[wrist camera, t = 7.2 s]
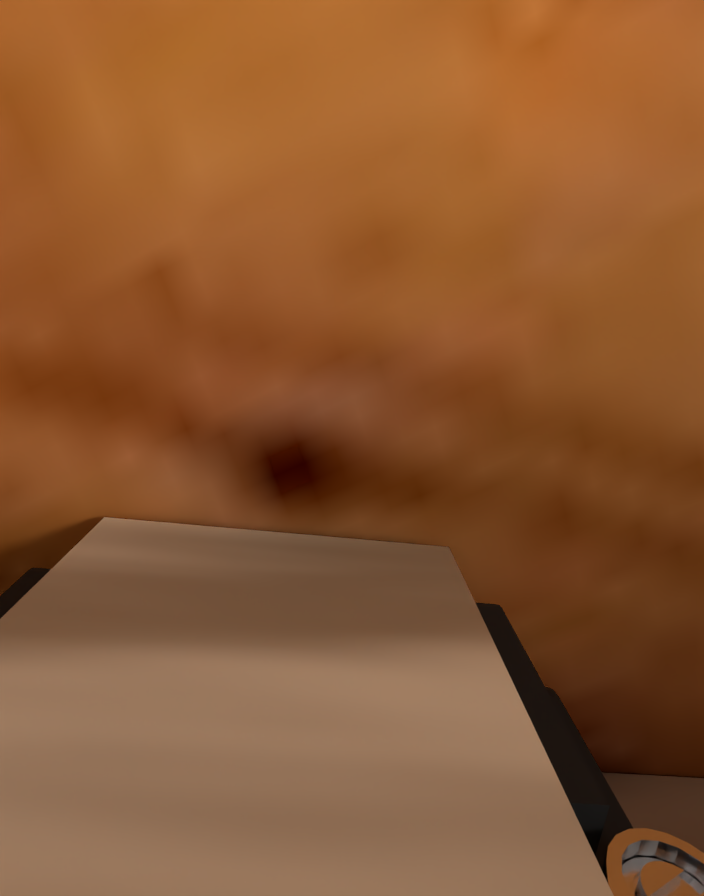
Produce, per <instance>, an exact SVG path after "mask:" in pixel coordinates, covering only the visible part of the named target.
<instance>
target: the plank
mask: <svg viewBox="0 0 704 896" xmlns="http://www.w3.org/2000/svg"><path fill="white" fill-rule="evenodd" d="M602 774H603V776H604V777H605V779H606V781H607V783H608V784H609V786H610V788H611V790H612V791H613V793H614V795H615V797H616V798H617V800H618V802H619V804H620V805H621V807H622V809H623V811H624V812H625V814H626V816H627V818H628V819H629V821H630V823H631V825H632V827H633V828H634V829H635V828H648V829H652V830H657V831H661V832H665V833H668V834H670V835H672V836H674V837H677V838H679V839H681V840H683V841H685V842H688V843H689V844H691V845H692V846H694V847H695V848H697V849H698V850H700V851H701V852H703V853H704V778H692V777H674V776H656V775H638V774H619V773H602Z"/></svg>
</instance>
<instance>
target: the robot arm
mask: <svg viewBox="0 0 704 896" xmlns="http://www.w3.org/2000/svg"><path fill="white" fill-rule="evenodd" d="M50 570H51V569H45V568H32V569H30V570H28V571H27V572H26V573H25V574H24V575H23V576H22V577H21V578H20V579H18V580H17V581H16V582H15V583H14V584H13V585H12V586H11V587H10V588H9V589H8V590H6V591H5V592H4V593H3V594H2V595H1V596H0V619H1V618H2V617H3V616H4V615H5V614H6V613H7V612H8V611H9V610H10V609H11V608H12V607H13V606H14V605H15V604H16V603H17V602H18V601H19V600H20V599H21V598H22V597H23V596H24V595H25V594H26V593H27V592H28V591H29V590H30V589H31V588H32V587H33V586H34V585H36V584H37V583H38V582H39V581H40V580H41V579H42V578H43V577H44V576H45V575H46V574H47V573H48V572H49V571H50ZM476 605H477V607H478V610H479V612H480V614H481V616H482V618H483V620H484V622H485V624H486V626H487V629H488V631H489V633H490V635H491V637H492V639H493V641H494V643H495V646H496V648H497V650H498V652H499V654H500V656H501V658H502V660H503V662H504V665H505V667H506V669H507V671H508V673H509V675H510V677H511V679H512V681H513V684H514V686H515V688H516V690H517V692H518V694H519V696H520V698H521V701H522V703H523V705H524V707H525V709H526V711H527V713H528V715H529V717H530V720H531V722H532V724H533V726H534V728H535V730H536V732H537V734H538V737H539V739H540V741H541V743H542V745H543V747H544V749H545V751H546V753H547V756H548V758H549V760H550V762H551V764H552V766H553V768H554V770H555V772H556V775H557V777H558V779H559V781H560V783H561V785H562V787H563V789H564V792H565V794H566V796H567V798H568V800H569V802H570V804H571V806H572V808H573V811H574V813H575V815H576V817H577V819H578V821H579V823H580V825H581V827H582V830H583V832H584V834H585V836H586V838H587V840H588V842H589V844H590V847H591V849H592V851H593V853H594V855H595V857H596V859H597V861H598V863H599V866H600V868H601V870H602V872H603V874H604V876H605V878H606V880H607V882H608V885H609V887H610V889H611V891H612V893H613V895H614V896H704V853H703V852H701V851H700V850H698V849H697V848H695V847H694V846H692V845H691V844H689V843H688V842H685V841H683V840H681V839H679V838H677V837H674V836H672V835H670V834H668V833H665V832H661V831H657V830H652V829H648V828H635V829H634V828H633V827H632V825H631V823H630V821H629V819H628V818H627V816H626V814H625V812H624V811H623V809H622V807H621V805H620V804H619V802H618V800H617V798H616V797H615V795H614V793H613V791H612V790H611V788H610V786H609V784H608V783H607V781H606V779H605V777H604V776H603V774H602V772H601V770H600V768H599V767H598V765H597V763H596V761H595V760H594V758H593V756H592V754H591V753H590V751H589V749H588V747H587V746H586V744H585V742H584V740H583V739H582V737H581V735H580V733H579V732H578V730H577V728H576V726H575V725H574V723H573V721H572V719H571V717H570V716H569V714H568V712H567V710H566V709H565V707H564V705H563V703H562V702H561V700H560V698H559V696H558V695H557V694H556V693H555V691H554V690H552V689H550V688H548V687H545V686H544V684H543V683H542V681H541V679H540V677H539V675H538V673H537V672H536V670H535V668H534V666H533V664H532V662H531V661H530V659H529V657H528V655H527V653H526V651H525V650H524V648H523V646H522V644H521V642H520V641H519V639H518V637H517V635H516V633H515V631H514V630H513V628H512V626H511V624H510V622H509V620H508V619H507V617H506V615H505V613H504V611H503V609H502V608H501V607H500V605H497V604H485V603H476Z"/></svg>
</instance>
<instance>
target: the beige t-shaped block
mask: <svg viewBox="0 0 704 896" xmlns="http://www.w3.org/2000/svg"><path fill="white" fill-rule="evenodd" d="M0 896H614V895H613V893H612V891H611V889H610V887H609V885H608V882H607V880H606V878H605V876H604V874H603V872H602V870H601V868H600V866H599V863H598V861H597V859H596V857H595V855H594V853H593V851H592V849H591V847H590V844H589V842H588V840H587V838H586V836H585V834H584V832H583V830H582V827H581V825H580V823H579V821H578V819H577V817H576V815H575V813H574V811H573V808H572V806H571V804H570V802H569V800H568V798H567V796H566V794H565V792H564V789H563V787H562V785H561V783H560V781H559V779H558V777H557V775H556V772H555V770H554V768H553V766H552V764H551V762H550V760H549V758H548V756H547V753H546V751H545V749H544V747H543V745H542V743H541V741H540V739H539V737H538V734H537V732H536V730H535V728H534V726H533V724H532V722H531V720H530V717H529V715H528V713H527V711H526V709H525V707H524V705H523V703H522V701H521V698H520V696H519V694H518V692H517V690H516V688H515V686H514V684H513V681H512V679H511V677H510V675H509V673H508V671H507V669H506V667H505V665H504V662H503V660H502V658H501V656H500V654H499V652H498V650H497V648H496V646H495V643H494V641H493V639H492V637H491V635H490V633H489V631H488V629H487V626H486V624H485V622H484V620H483V618H482V616H481V614H480V612H479V610H478V607H477V605H476V603H475V601H474V599H473V597H472V595H471V593H470V591H469V588H468V586H467V584H466V582H465V580H464V578H463V576H462V574H461V571H460V569H459V567H458V565H457V563H456V561H455V559H454V557H453V555H452V552H451V550H450V548H449V547H445V546H433V545H421V544H410V543H398V542H387V541H375V540H364V539H352V538H340V537H329V536H317V535H306V534H294V533H282V532H271V531H259V530H248V529H236V528H225V527H213V526H201V525H190V524H178V523H167V522H155V521H143V520H132V519H120V518H109V517H104V518H103V519H102V520H101V521H100V522H99V523H98V524H97V525H96V526H95V527H94V528H93V529H92V530H91V531H90V532H89V533H88V534H87V535H86V536H85V537H84V538H83V539H82V540H81V541H80V542H78V543H77V544H76V545H75V546H74V547H73V548H72V549H71V550H70V551H69V552H68V553H67V554H66V555H65V556H64V557H63V558H62V559H61V560H60V561H59V562H58V563H57V564H56V565H55V566H54V567H53V568H52V569H51V570H50V571H49V572H48V573H47V574H46V575H45V576H44V577H43V578H42V579H41V580H40V581H39V582H38V583H37V584H36V585H34V586H33V587H32V588H31V589H30V590H29V591H28V592H27V593H26V594H25V595H24V596H23V597H22V598H21V599H20V600H19V601H18V602H17V603H16V604H15V605H14V606H13V607H12V608H11V609H10V610H9V611H8V612H7V613H6V614H5V615H4V616H3V617H2V618H1V619H0Z"/></svg>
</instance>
